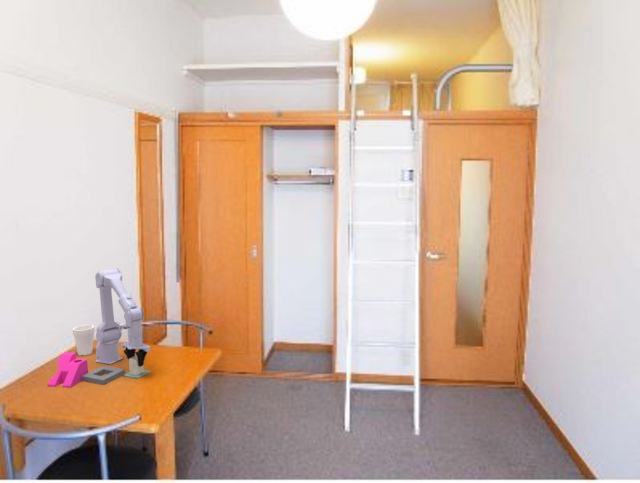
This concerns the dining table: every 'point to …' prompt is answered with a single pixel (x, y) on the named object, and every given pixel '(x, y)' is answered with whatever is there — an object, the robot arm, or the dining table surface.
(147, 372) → the pad
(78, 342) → the foam cup
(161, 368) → the dining table surface
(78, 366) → the bracket
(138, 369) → the block
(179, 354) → the dining table surface
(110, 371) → the pocket board
